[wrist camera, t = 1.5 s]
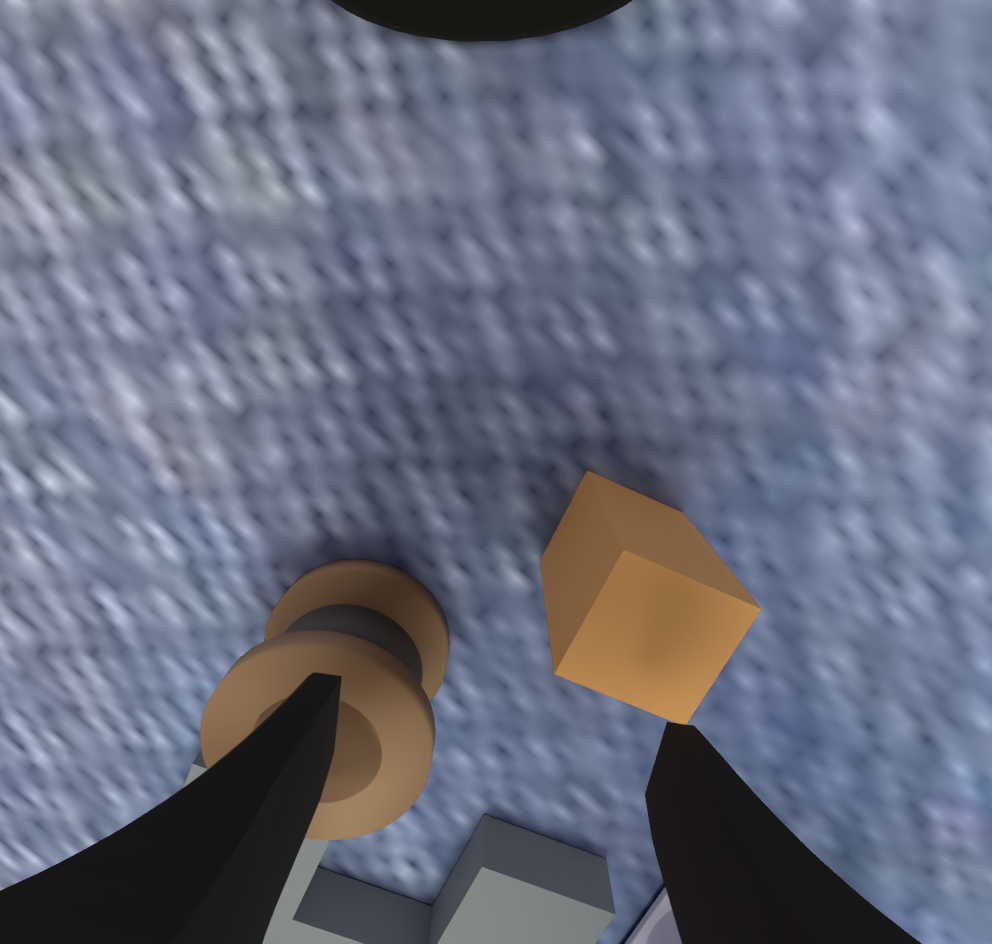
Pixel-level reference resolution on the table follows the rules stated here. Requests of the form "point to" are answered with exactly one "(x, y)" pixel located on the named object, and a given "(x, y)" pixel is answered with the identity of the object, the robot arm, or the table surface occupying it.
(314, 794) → the robot arm
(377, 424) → the table surface
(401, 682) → the bobbin post
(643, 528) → the orange rectangular block
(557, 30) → the portable speaker
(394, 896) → the notched board
